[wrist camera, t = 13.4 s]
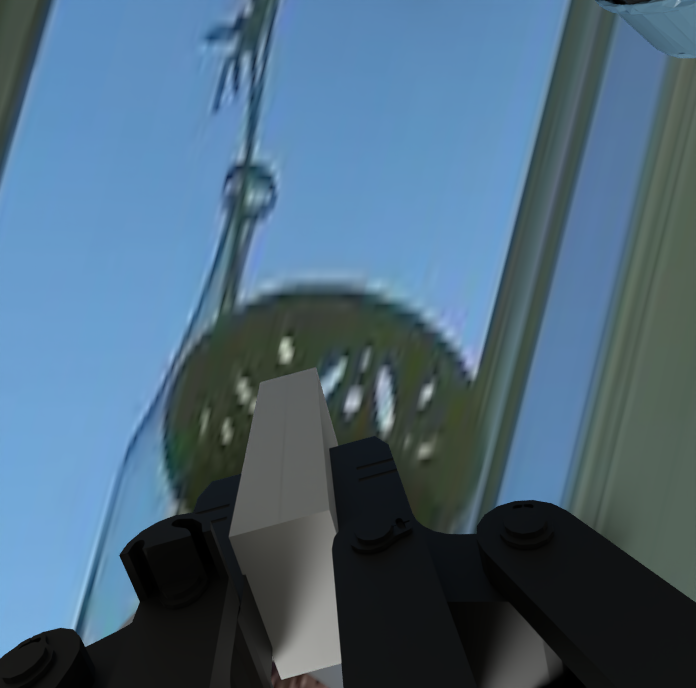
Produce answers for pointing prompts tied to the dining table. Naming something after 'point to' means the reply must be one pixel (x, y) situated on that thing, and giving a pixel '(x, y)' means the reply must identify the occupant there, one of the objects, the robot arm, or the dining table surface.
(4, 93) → the dining table surface
